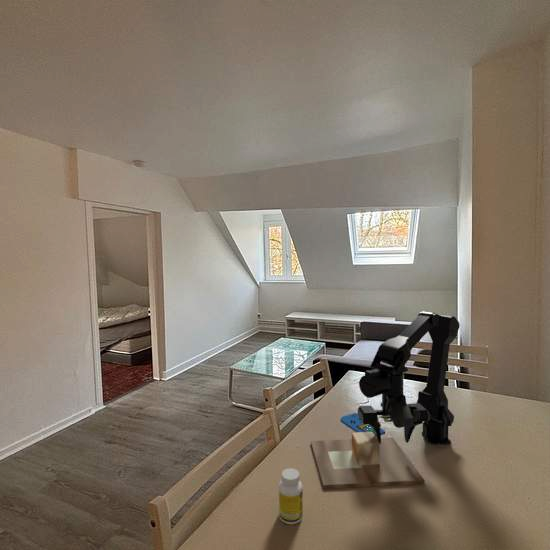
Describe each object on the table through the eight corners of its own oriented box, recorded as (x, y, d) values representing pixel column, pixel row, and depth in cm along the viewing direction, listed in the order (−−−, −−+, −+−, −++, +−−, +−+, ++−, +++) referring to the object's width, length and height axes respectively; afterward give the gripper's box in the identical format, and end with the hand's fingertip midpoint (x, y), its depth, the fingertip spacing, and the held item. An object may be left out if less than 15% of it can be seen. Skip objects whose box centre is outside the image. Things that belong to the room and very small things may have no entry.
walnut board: (392, 440, 104) (392, 437, 103) (424, 483, 84) (424, 479, 84) (311, 444, 102) (311, 441, 102) (323, 488, 82) (323, 485, 82)
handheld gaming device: (355, 411, 122) (386, 430, 108) (356, 414, 122) (386, 433, 108) (337, 417, 118) (366, 437, 105) (337, 420, 118) (366, 440, 105)
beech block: (372, 431, 96) (351, 432, 96) (379, 443, 90) (357, 444, 90) (372, 451, 96) (352, 452, 96) (379, 464, 90) (358, 465, 90)
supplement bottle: (304, 524, 71) (304, 481, 71) (280, 526, 71) (279, 482, 71) (300, 505, 77) (300, 465, 76) (277, 507, 76) (277, 467, 76)
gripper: (369, 402, 84) (370, 462, 84) (440, 399, 85) (440, 458, 85) (356, 386, 95) (357, 438, 96) (419, 383, 96) (419, 435, 97)
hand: (393, 442), depth 93 cm, fingers open, 7 cm apart
